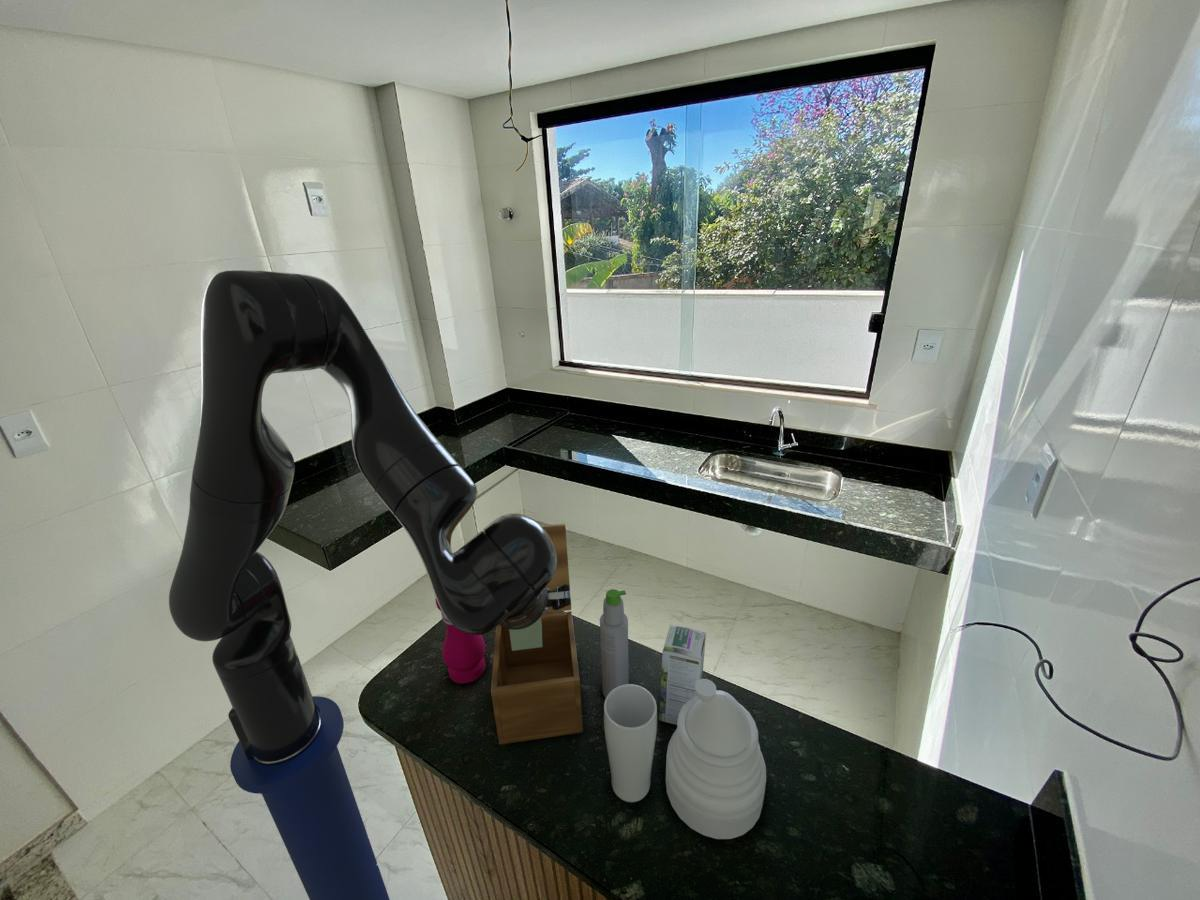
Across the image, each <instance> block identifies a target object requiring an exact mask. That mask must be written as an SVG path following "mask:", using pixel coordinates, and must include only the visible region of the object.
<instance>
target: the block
mask: <svg viewBox="0 0 1200 900" xmlns="http://www.w3.org/2000/svg"><path fill="white" fill-rule="evenodd" d="M509 633H510V640H511V647H512V651H514V650H522V649H530V648H538V647H542V623H541V617H540V618H539V619H538V620H537V621H536V622H535V623H534V624H532V625H531V626H529V627H527V628H523V629H518V630H513V629H509Z"/></svg>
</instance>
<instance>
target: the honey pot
mask: <svg viewBox="0 0 1200 900" xmlns="http://www.w3.org/2000/svg"><path fill="white" fill-rule="evenodd" d="M695 692H696V695H697V696H695V697H694V698H692V699H690V700H688V701H687V702H686V703H685V704H684V705H683V706H682V708H681V710H680V712H679V715H678V721H677V725H676V729H675V730H674V732H673V733H672V735H671V738H670V739H669V741H668V744H667V749H666V759H665V760H666V761H665V788H666V795H667V797H668V800H669V802H670V805H671V807H672V808H673V810H674V812H675V813H676V814H677V816H678V817H679V819H680V820H681V821H682V822H684V824H686V825H687V826H688V827H689V828H690V829H691V830H693V831H694V832H697V833H698V834H700V835H702V836H704V837H708V838H712V839H715V840H731V839H736V838H738V837H742V836H744V835H745V834H746V833H748V832H749V831H750V830H751V829H753V828H754V826H755V825H756V823H757V822H758V820H759V819H760V817H761V814H762V810H763V805H764V801H765V800H764V799H765V793H766V783H767V766H766V762H765V759H764V756H763V752H762V751H761V746H760V742H759V731H758V727H757V724H756V721H755V719H754V718H753V716H752V714H751V713H750V712H749V711H748V710H747V709H746V707H744V706H743V704H742V703H739V702H738V700H737V699H736V698H735V697H734V696H733V695H732V694H730V693H729V692H727V691H724V690H721V689H720V690H719V689H718V690H717V686H716V684H715V682H713V681H712V680H711V679H708V678H702V679H700V680H698V681H697V682H696V683H695Z"/></svg>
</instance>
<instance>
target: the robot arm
mask: <svg viewBox="0 0 1200 900" xmlns="http://www.w3.org/2000/svg"><path fill="white" fill-rule="evenodd" d="M200 316H201V319H200V326H201V327H200V359H201V360H200V362H201V364H200V365H201V366H200V367H201V368H200V369H201V372H200V373H201V402H200V418H199V425H198V426H199V427H198V435H197V442H196V451H195V456H194V461H193V467H192V472H191V481H190V490H189V505H188V516H187V522H186V526H185V527H186V528H185V532H184V537H183V539H184V540H183V545H182V549H181V552H180V556H179V560H178V562H177V566H176V569H175V572H174V576H173V578H172V581H171V585H170V589H169V594H168V607H169V613H170V616H171V619H172V621H173V623H174V624H175V626H176V628H177V629H178V630H179V631H180V632H181V633H182V634H183V635H185V636H186V637H187V638H189V639H191V640H194V641H197V642H213V641H214V642H215V641H217V640H219V641H218V642H217V644H216V645H215V647H214V649H213V652H212V656H211V659H212V665H213V667H214V669H215V671H216V674H217V676H218V678H219V680H220V683H221V685H222V687H223V690H224V692H225V694H226V696H227V698H228V701H229V703H230V705H231V709H230V710H229V712H228V714H227V715H228V719H229V722H230V723H231V726H232V728H233V731H234V733H235V735H236V737H237V739H238V742H239V741H240V743H241V746H242V748H243V750H244V752H245V755H246V757H247V759H248V760H250V759H255V761H256V762H257V763H259V764H261V765H266V766H272V765H278V764H282V763H285V762H287V761H289V760H291V759H293V758H295V757H297V756H298V755H300V754H301V753H302V752H304V751H305V750H306V749H307V748H308V747H309V746H310V745H311V744H312V743H313V742H314V741H315V739H316V738H317V736H318V734H319V732H320V729H321V723H322V722H321V718H320V715H319V714H318V712H317V710H318V711H319V712H320V709H319V708H318V707H317V705H316V704H315V703H314V700H313V697H312V696H313V695H312V692H311V689H310V686H309V684H308V681H307V678H306V675H305V671H304V669H303V667H302V663H301V660H300V658H299V655H298V652H297V649H296V646H295V644H294V641H293V638H292V635H291V632H292V620H291V617H290V613H289V609H288V605H287V601H286V597H285V593H284V590H283V586H282V583H281V579H280V577H279V575H278V573H277V571H276V569H275V568H274V565H273V564H272V563H271V562H270V560H268V558H266V556H265V555H263V554H262V553H261V552H258V550H259V549H260V547H261V546H263V544H264V542H265V541H266V540H267V539H268V537H269V536H270V534H271V533H272V532H273V530H274V529H275V528H276V526H277V524H279V522H280V520H281V518H282V517H283V514H284V512H285V510H286V508H287V505H288V503H289V502H288V501H289V498H290V495H291V490H292V486H293V482H294V478H295V473H296V465H295V464H296V463H295V459H294V456H293V453H292V451H291V449H290V448H289V446H288V444H287V443H286V442H285V440H284V438H283V437H282V436H281V435H280V434H279V433H278V431H277V430H276V429H275V428H274V426H273V425H272V424H271V423H270V422H269V420H268V419H267V417H266V416H265V413H264V412H263V403H262V402H263V393H264V387H265V385H266V382H267V380H268V379H269V377H270V376H271V375H273V374H283V373H293V372H302V371H303V372H304V371H313V370H318V369H320V370H322V371H324V372H325V373H326V374H327V375H329V376H330V377H331V378H332V379H333V380H334V381H335V382H336V383H337V384H338V385H339V386H340V387H341V389H342V390H343V392H344V393H345V395H346V397H347V400H348V403H349V404H348V405H349V410H350V429H351V445H352V451H353V454H354V459H355V462H356V464H357V467H358V469H359V472H360V473H361V475H362V477H363V479H364V480H365V481H366V482H367V484H368V486H369V487H370V488H371V489H372V490H373V492H374V493H375V495H377V496H378V497H379V499H380V501H382V502H383V504H384V505H385V506H386V508H387V509H388V510H389V512H391V513H392V515H393V516H394V517H395V518H396V520H397V521H398V523H399V524H400V525H401V526H402V528H403V529H404V531H405V532H406V533H407V535H408V537H409V539H410V540H411V542H412V544H413V545H414V547H415V550H416V552H417V554H418V555H419V558H420V560H421V563H422V564H423V567H424V569H425V572H426V575H427V578H428V580H429V583H430V585H431V589H432V592H433V594H434V597H435V599H437V601H438V604H439V606H440V608H441V610H442V612H443V613H444V615H445V617H446V618H447V619H448V621H449V622H450V623H451V624H452V625H453V626H455V627H456V628H457V629H459V630H461V631H463V632H466V633H469V634H474V635H482V636H483V635H485V634H488V633H489V632H492V631H493V630H494V629H496V626H498V625H500V626H502V627H504V628H507V629H513V630H518V629H523V628H527V627H529V626H531V625H532V624H534V623H535V622H536V621H537V620H538V619H539V618H540V617H541V615H544V614H546V613H545V612H546V611H548V609H549V607H551V606H552V608H553V610H559V609H561V608H563V607H566V606H569V605H570V604H571V605H572V598H571V597H572V596H571V585H570V586H569V585H567V584H565V585H563V586H560V587H556V588H555V590H553V591H552V592H551V590H550V589H549V588H546V586H547V584H548V583H549V582H550V581H551V579H552V578H553V576H554V574H555V572H556V568H557V557H556V552H555V548H554V546H553V543H552V541H551V539H550V537H549V535H548V534H547V532H546V531H545V530H544V529H543V527H542V526H543V525H541V524H540V523H539V522H538V521H536V520H535V519H533V518H532V517H530V516H528V515H525V514H521V513H508V514H504V515H501V516H499V517H497V518H496V519H494V520H493V521H491V522H490V523H489V524H488V525H486V526H485V527H484V528H483V529H482V530H481V531H479V532H478V533H476V534H475V535H474V536H473V537H472V538H471V539H470V540H469V541H467V542H466V543H465V544H464V545H462V546H461V547H460V548H459V549H458V550H456V551H455V552H453V549H452V536H453V533H454V531H455V530H456V528H457V526H458V525H459V524H460V522H461V521H462V520H463V519H464V518H465V516H466V515H467V514H468V513H469V512H470V510H471V509H472V507H473V505H474V504H475V502H476V501H477V498H478V488H477V485H476V484H475V482H474V480H473V479H472V477H470V475H469V474H468V473H467V472H466V471H465V470H464V468H463V467H462V466H461V465H460V464H459V462H457V460H456V459H455V458H454V457H453V456H452V455H451V453H450V452H449V450H447V448H445V447H444V445H443V444H442V443H441V442H440V440H439V439H438V438H437V437H436V436H435V434H433V432H431V430H430V429H429V427H428V426H427V425H426V424H425V422H424V421H423V420H422V419H421V418H420V416H419V415H418V414H417V413H416V411H415V409H414V408H413V407H412V405H411V404H410V402H408V400H407V398H406V396H405V395H404V393H403V391H402V390H401V389H400V387H399V384H397V381H396V380H395V378H394V377H393V375H392V373H391V371H390V369H389V368H388V366H387V364H386V362H385V361H384V359H383V357H382V356H381V354H380V352H379V351H378V349H377V348H376V346H375V345H374V344H373V341H372V340H371V338H370V337H369V335H368V333H367V331H366V330H365V329H364V327H363V324H362V323H361V322H360V320H359V318H358V317H357V315H356V314H355V312H354V311H353V309H352V308H351V306H350V305H349V303H348V301H346V299H345V298H344V296H343V295H342V294H341V293H340V292H339V291H338V289H336V287H334V286H333V285H332V284H331V283H330V282H328V281H327V280H325V279H323V278H320V277H318V276H313V275H309V274H303V273H292V272H282V271H281V272H280V271H268V270H267V271H266V270H252V269H251V270H250V269H226V270H221V271H219V272H218V273H216V274H215V275H214V276H213V277H212V278H211V279H210V280H209V282H208V284H207V286H206V289H205V291H204V295H203V299H202V305H201V315H200ZM316 708H317V709H316ZM320 714H321V712H320Z"/></svg>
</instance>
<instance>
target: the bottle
mask: <svg viewBox="0 0 1200 900" xmlns="http://www.w3.org/2000/svg"><path fill="white" fill-rule="evenodd" d="M625 595H627V592H626V590H618V589H615V588H612V589H611V588H610V589H609V590H607V591H606V593H605V597H604V599H603V606H602V607H603V608H602V611H603V612H602V614H601V615H600V617H599V636H600V659H601V661H600V663H601V665H600V666H601V687H602V689H601V690H602V695H603V697H604V698H605V699H606V697H607V695H608V694H609V693H610V692H611V691H612V690H613V689H614V688H616V687H618V686H621V685H626V684H630V683H629V681H630V680H629V678H630V677H629V619H628V616H627V615H626V613H625V608H624V599H623V598H622V597H621V596H625Z"/></svg>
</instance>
